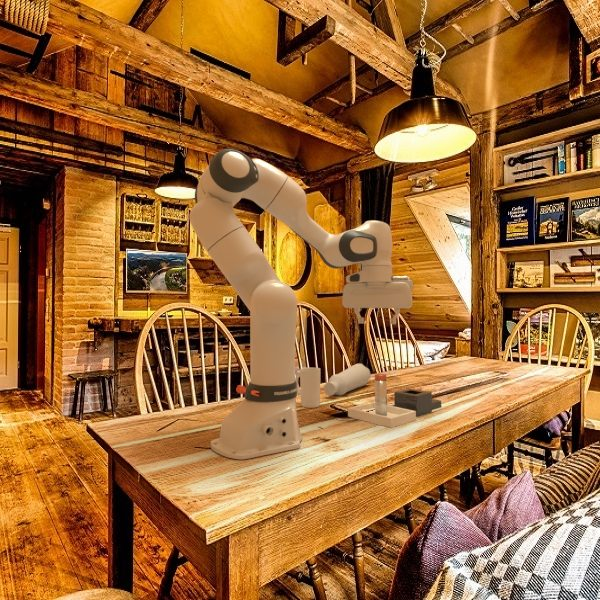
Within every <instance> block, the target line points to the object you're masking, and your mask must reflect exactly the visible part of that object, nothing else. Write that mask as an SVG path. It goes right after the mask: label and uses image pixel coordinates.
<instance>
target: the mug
mask: <svg viewBox="0 0 600 600" xmlns="http://www.w3.org/2000/svg"><path fill="white" fill-rule="evenodd" d="M299 378H300V379H299ZM295 381H296V382H297V396H300V406H301V407H302V408H308V409H310V408H311V409H314V408H319V407H320V406H321V368H320V367H302V368H299V370H297V371H296V374H295ZM299 383H300V385H299Z"/></svg>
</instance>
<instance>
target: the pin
mask: <svg viewBox="0 0 600 600" xmlns="http://www.w3.org/2000/svg"><path fill="white" fill-rule="evenodd" d="M387 382H388V380H387V374H385V373H375V374H374V402H375V414H378V415H382V416H386V417H387V405H388V393H387V392H388V388H387V386H388V384H387Z"/></svg>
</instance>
